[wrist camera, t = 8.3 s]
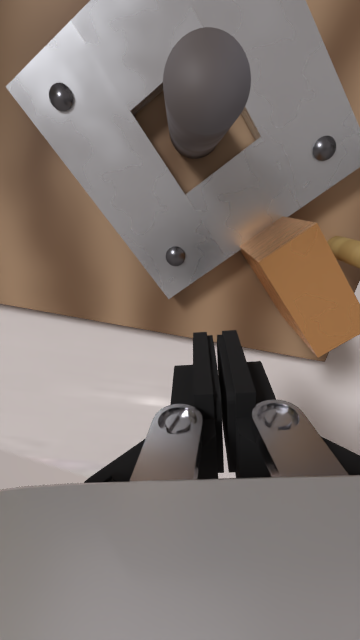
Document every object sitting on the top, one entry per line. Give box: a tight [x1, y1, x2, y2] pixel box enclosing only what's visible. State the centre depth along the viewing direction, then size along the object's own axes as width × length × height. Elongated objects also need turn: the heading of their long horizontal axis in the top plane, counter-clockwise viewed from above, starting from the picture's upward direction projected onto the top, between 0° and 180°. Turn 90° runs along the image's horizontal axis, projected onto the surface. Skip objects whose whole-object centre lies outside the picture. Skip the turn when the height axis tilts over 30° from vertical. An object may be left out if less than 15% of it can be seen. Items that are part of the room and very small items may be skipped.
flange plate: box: [6, 0, 360, 357], centre depth 16 cm, size 20×14×6 cm
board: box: [0, 0, 360, 362], centre depth 15 cm, size 26×26×9 cm
